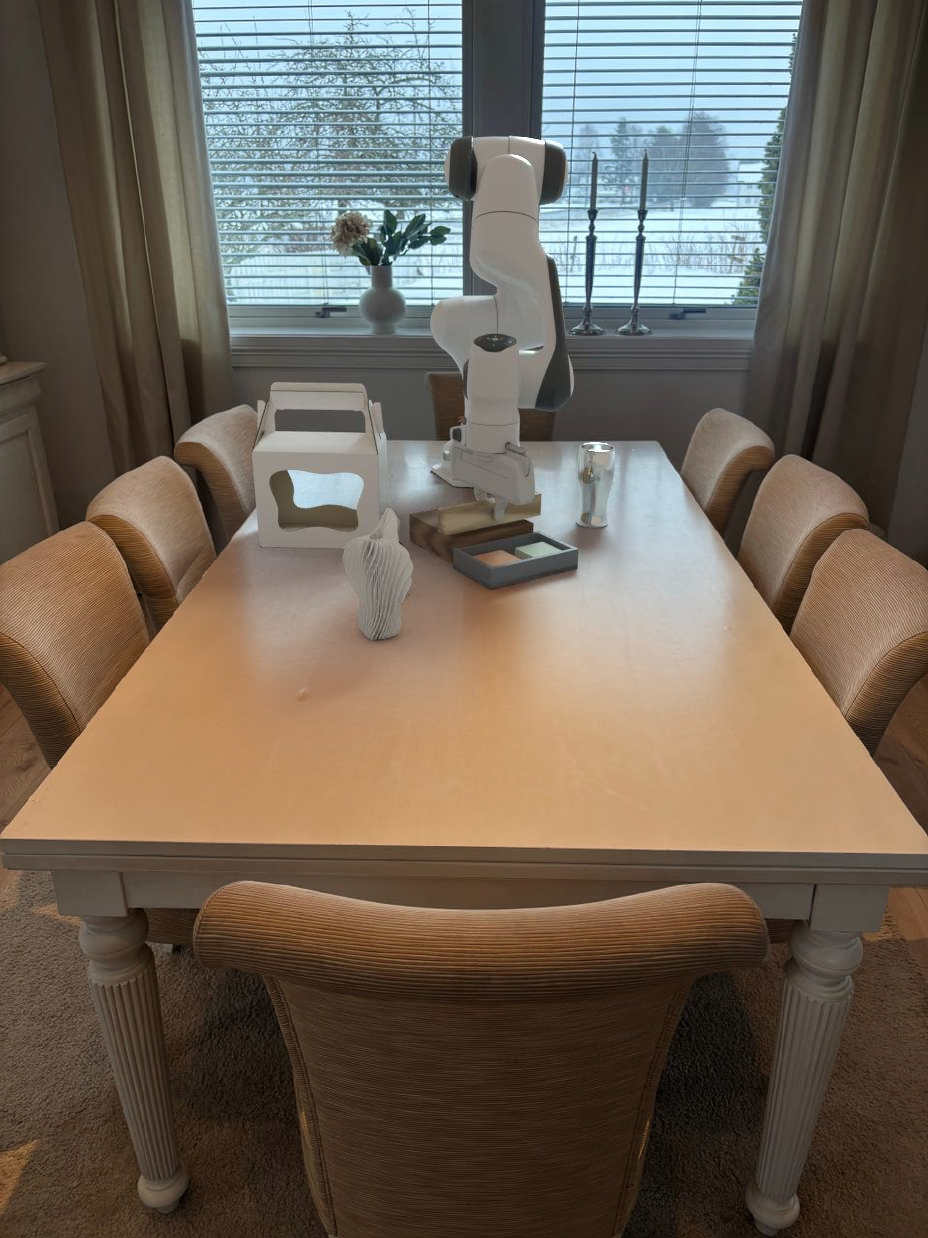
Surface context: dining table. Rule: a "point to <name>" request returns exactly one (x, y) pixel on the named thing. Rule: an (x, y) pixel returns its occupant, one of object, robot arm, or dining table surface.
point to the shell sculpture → (379, 577)
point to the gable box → (317, 467)
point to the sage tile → (534, 550)
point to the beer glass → (594, 483)
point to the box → (518, 569)
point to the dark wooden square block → (458, 534)
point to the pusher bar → (483, 515)
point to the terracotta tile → (497, 558)
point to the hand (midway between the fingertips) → (490, 516)
